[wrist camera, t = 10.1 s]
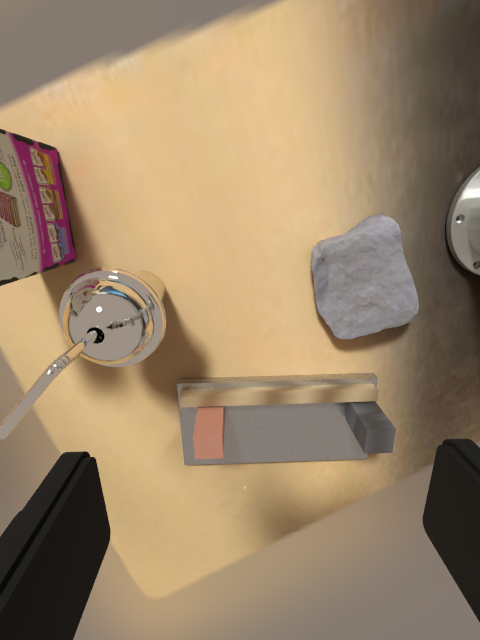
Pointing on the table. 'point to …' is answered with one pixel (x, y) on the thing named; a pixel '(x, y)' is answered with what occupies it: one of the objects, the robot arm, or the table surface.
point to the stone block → (364, 279)
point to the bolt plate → (277, 423)
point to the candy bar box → (31, 210)
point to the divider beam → (360, 398)
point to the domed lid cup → (103, 326)
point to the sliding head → (209, 433)
